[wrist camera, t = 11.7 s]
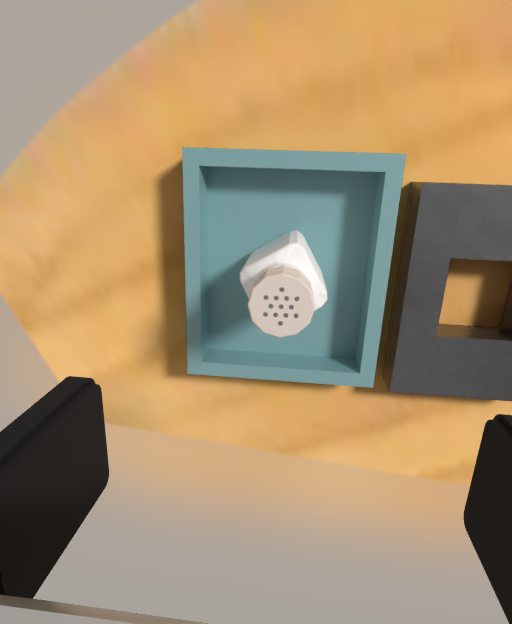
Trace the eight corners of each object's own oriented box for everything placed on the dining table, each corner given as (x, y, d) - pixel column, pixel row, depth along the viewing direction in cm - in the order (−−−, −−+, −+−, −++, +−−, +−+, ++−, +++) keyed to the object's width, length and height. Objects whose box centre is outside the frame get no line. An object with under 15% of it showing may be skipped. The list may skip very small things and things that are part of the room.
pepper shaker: (274, 302, 29) (264, 358, 20) (247, 253, 28) (223, 289, 19) (324, 277, 28) (338, 324, 19) (298, 225, 27) (299, 249, 18)
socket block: (574, 187, 25) (602, 188, 23) (520, 385, 30) (539, 403, 28) (411, 181, 26) (422, 182, 24) (382, 375, 31) (389, 391, 28)
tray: (394, 156, 26) (406, 154, 23) (365, 368, 31) (373, 387, 28) (194, 150, 27) (182, 147, 24) (197, 356, 32) (187, 373, 29)
